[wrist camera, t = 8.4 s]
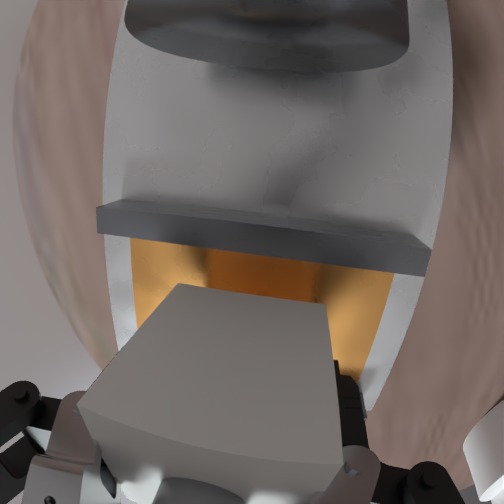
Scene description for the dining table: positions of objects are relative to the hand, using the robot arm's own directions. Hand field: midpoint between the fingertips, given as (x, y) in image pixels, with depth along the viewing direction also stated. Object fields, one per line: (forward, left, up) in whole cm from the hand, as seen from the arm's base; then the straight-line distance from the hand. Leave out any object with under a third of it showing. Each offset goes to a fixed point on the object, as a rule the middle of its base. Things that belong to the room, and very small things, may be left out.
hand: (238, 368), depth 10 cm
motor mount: (-7, 0, -5) cm, 8 cm away
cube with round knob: (0, 0, -1) cm, 1 cm away
